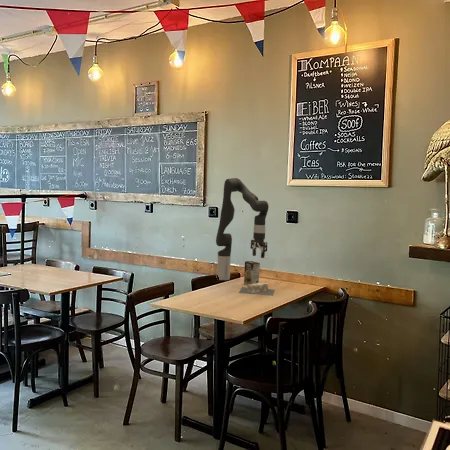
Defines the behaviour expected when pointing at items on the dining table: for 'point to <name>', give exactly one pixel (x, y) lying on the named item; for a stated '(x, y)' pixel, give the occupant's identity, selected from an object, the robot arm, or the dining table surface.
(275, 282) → the dining table surface
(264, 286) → the block
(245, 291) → the mat
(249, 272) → the coffee box
